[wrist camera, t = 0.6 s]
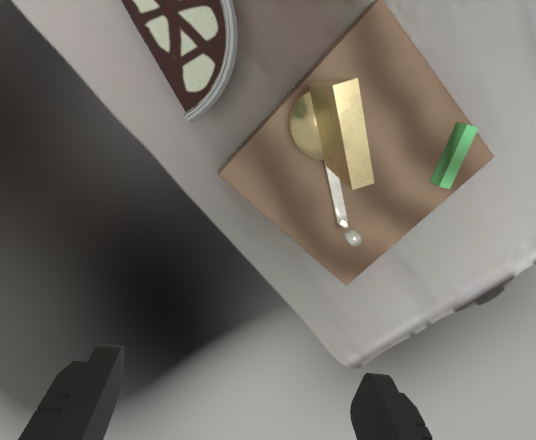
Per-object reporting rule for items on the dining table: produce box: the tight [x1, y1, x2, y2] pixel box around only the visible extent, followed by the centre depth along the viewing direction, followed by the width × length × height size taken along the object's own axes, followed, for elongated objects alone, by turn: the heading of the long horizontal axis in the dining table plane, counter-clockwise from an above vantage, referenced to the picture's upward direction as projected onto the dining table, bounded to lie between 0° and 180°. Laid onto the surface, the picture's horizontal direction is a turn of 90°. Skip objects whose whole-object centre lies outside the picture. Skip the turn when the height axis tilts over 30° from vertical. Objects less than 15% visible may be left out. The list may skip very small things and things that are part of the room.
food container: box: [122, 0, 238, 122], centre depth 23 cm, size 12×6×10 cm, turn 27°
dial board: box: [218, 0, 494, 286], centre depth 32 cm, size 20×19×4 cm
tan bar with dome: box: [288, 78, 374, 246], centre depth 27 cm, size 15×6×9 cm, turn 16°
